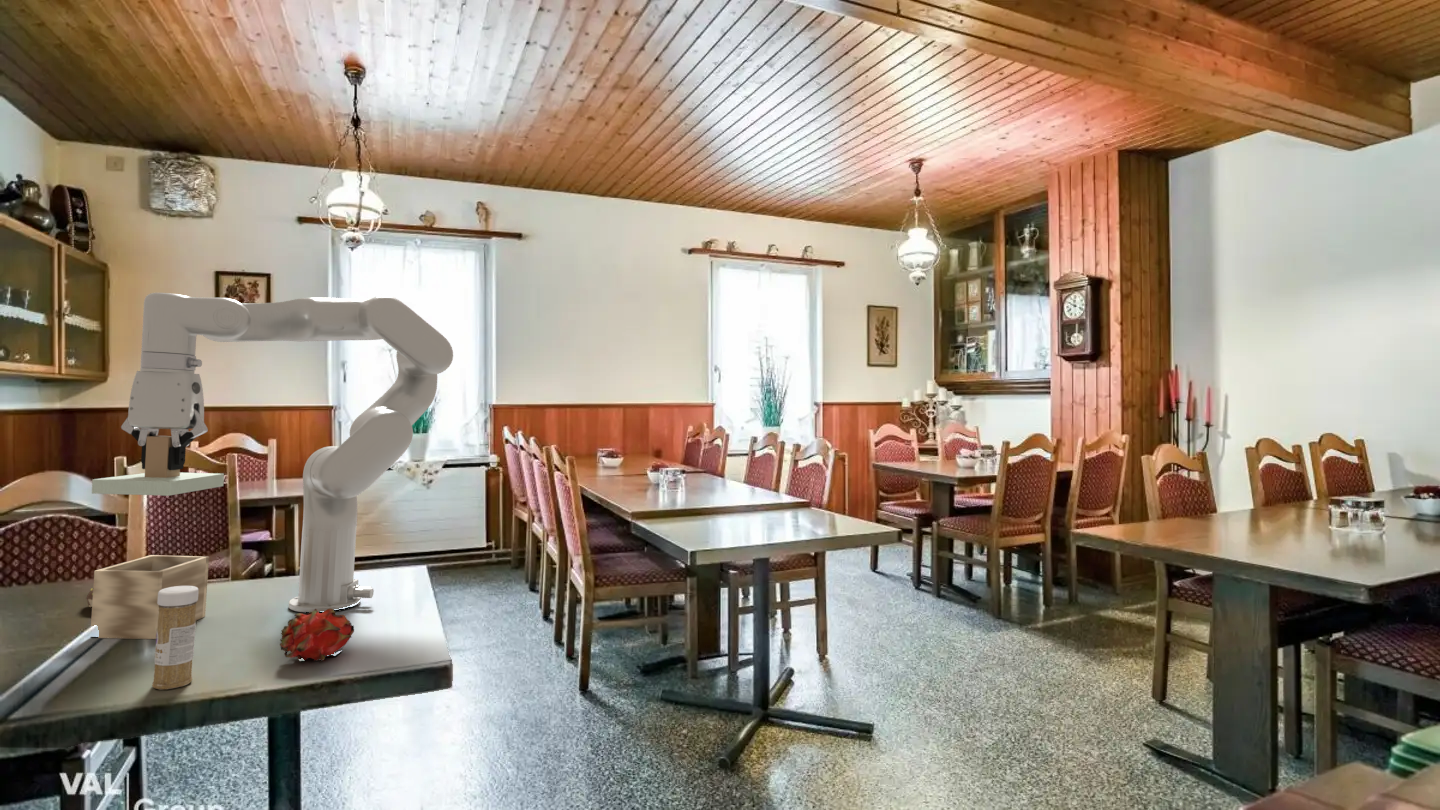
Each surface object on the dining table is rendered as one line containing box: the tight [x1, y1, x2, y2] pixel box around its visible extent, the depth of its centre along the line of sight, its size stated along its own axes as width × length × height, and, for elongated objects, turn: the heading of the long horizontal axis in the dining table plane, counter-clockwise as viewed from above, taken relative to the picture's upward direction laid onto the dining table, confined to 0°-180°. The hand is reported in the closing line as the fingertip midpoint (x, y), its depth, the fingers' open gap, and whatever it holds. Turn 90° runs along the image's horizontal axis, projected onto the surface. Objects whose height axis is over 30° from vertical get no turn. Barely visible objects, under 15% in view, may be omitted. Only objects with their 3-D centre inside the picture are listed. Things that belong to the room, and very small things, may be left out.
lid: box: [91, 435, 225, 497], centre depth 124 cm, size 12×15×9 cm
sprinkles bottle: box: [151, 586, 198, 690], centre depth 100 cm, size 5×5×13 cm
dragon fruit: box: [279, 608, 355, 661], centre depth 113 cm, size 8×8×12 cm
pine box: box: [90, 554, 210, 640], centre depth 124 cm, size 10×13×11 cm
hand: (162, 468), depth 124 cm, fingers closed on lid, 3 cm apart
